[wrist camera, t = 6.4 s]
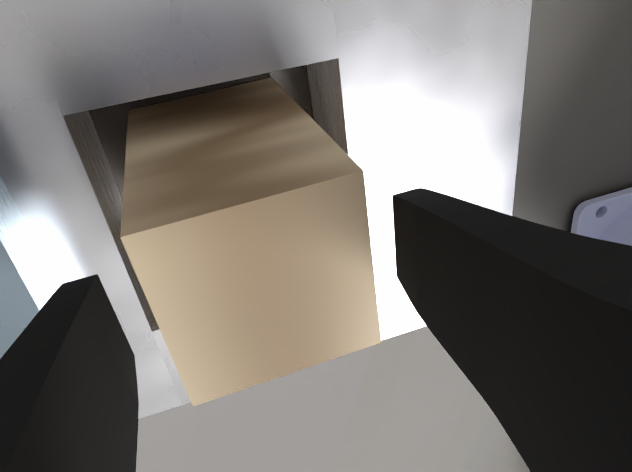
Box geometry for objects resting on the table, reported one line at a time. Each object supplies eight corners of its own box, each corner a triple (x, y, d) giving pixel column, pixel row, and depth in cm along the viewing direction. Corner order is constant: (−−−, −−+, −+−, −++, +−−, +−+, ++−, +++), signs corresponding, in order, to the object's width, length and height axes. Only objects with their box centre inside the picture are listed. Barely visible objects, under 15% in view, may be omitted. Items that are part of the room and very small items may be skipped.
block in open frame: (468, -119, 13) (598, -144, 9) (457, 255, 19) (532, 328, 16) (-233, -15, 10) (-448, 9, 6) (25, 384, 17) (-8, 511, 13)
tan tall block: (271, 77, 14) (363, 170, 8) (295, 200, 16) (381, 342, 10) (128, 110, 13) (120, 237, 8) (173, 234, 16) (192, 406, 10)
